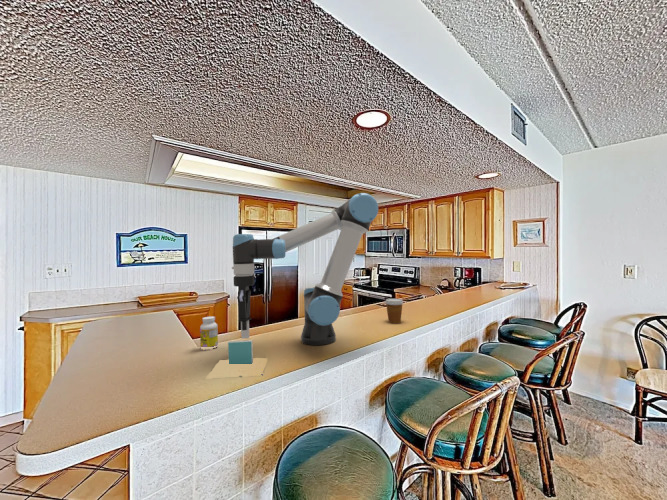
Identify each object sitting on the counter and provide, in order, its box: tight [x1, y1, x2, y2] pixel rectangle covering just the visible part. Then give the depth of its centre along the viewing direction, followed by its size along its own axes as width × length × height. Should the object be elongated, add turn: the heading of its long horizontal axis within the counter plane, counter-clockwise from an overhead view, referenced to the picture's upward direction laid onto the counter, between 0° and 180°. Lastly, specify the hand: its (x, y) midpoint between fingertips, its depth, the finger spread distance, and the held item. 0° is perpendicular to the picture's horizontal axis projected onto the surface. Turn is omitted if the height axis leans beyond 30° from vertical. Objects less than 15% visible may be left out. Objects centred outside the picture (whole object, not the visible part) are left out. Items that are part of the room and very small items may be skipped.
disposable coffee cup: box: [384, 298, 404, 324], centre depth 162 cm, size 10×10×12 cm
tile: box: [227, 339, 254, 364], centre depth 104 cm, size 8×2×8 cm, turn 95°
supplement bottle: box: [199, 315, 219, 348], centre depth 124 cm, size 7×7×13 cm
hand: (245, 337), depth 113 cm, fingers closed
